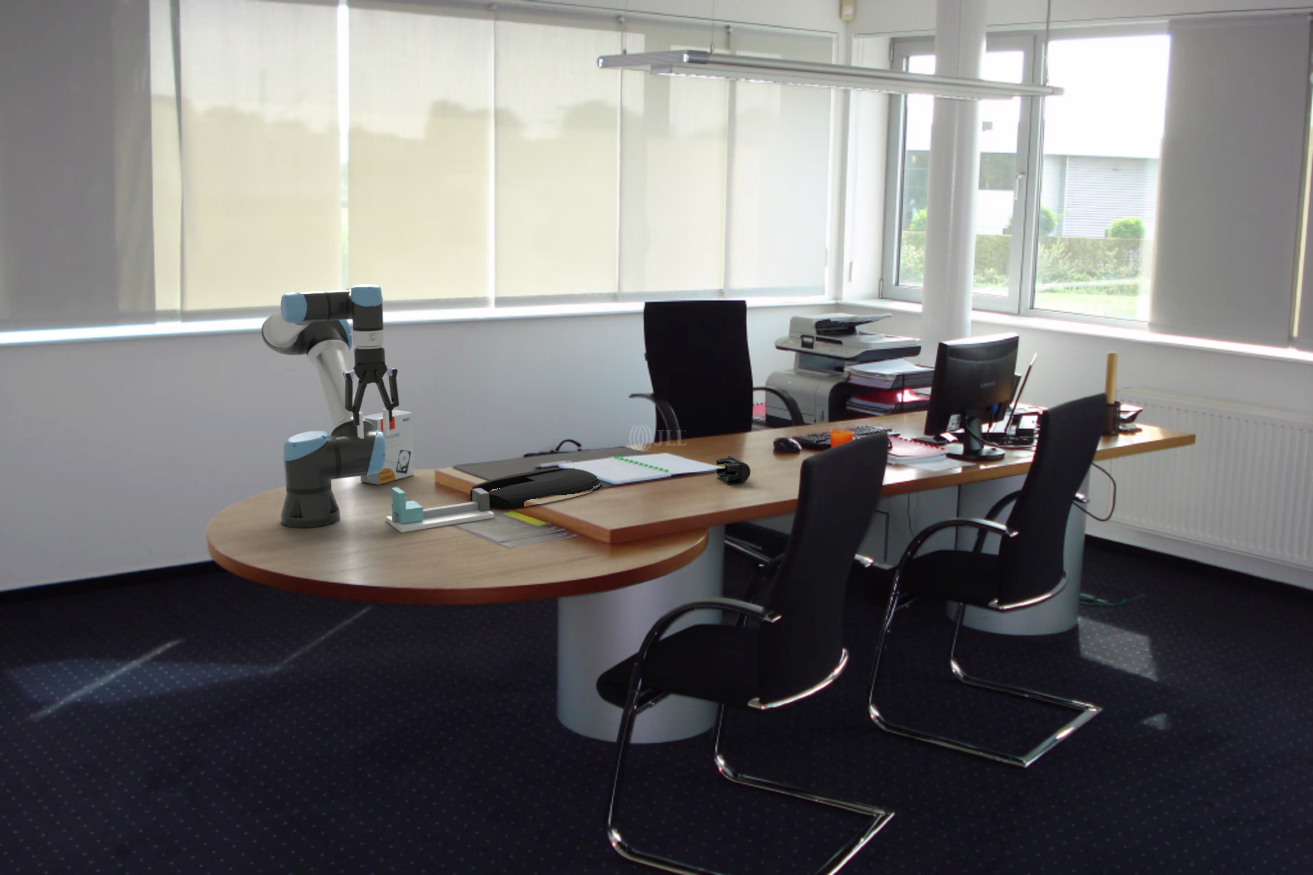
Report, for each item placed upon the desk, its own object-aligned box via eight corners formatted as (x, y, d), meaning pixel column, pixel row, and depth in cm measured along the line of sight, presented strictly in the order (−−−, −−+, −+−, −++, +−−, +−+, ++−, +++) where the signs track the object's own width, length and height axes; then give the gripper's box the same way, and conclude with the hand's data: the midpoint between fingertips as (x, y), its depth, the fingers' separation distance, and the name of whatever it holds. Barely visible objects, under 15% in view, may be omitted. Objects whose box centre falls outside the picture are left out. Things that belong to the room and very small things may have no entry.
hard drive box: (378, 486, 352) (375, 420, 347) (360, 482, 356) (356, 417, 351) (415, 474, 365) (412, 411, 360) (396, 471, 369) (393, 408, 364)
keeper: (401, 523, 309) (400, 493, 307) (392, 517, 315) (390, 487, 313) (423, 520, 312) (422, 490, 310) (414, 513, 318) (412, 484, 316)
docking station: (619, 490, 349) (619, 473, 348) (502, 514, 324) (501, 497, 323) (571, 473, 368) (570, 457, 367) (456, 495, 343) (455, 478, 342)
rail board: (401, 532, 307) (400, 509, 305) (386, 520, 317) (384, 498, 315) (494, 517, 320) (493, 495, 318) (476, 507, 330) (476, 485, 328)
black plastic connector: (750, 483, 355) (750, 462, 354) (728, 486, 353) (729, 463, 351) (736, 475, 364) (737, 454, 363) (715, 478, 362) (715, 456, 360)
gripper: (336, 351, 291) (341, 443, 296) (410, 345, 301) (414, 434, 306) (327, 347, 297) (332, 437, 303) (400, 342, 307) (404, 429, 312)
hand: (373, 435), depth 304 cm, fingers open, 6 cm apart
